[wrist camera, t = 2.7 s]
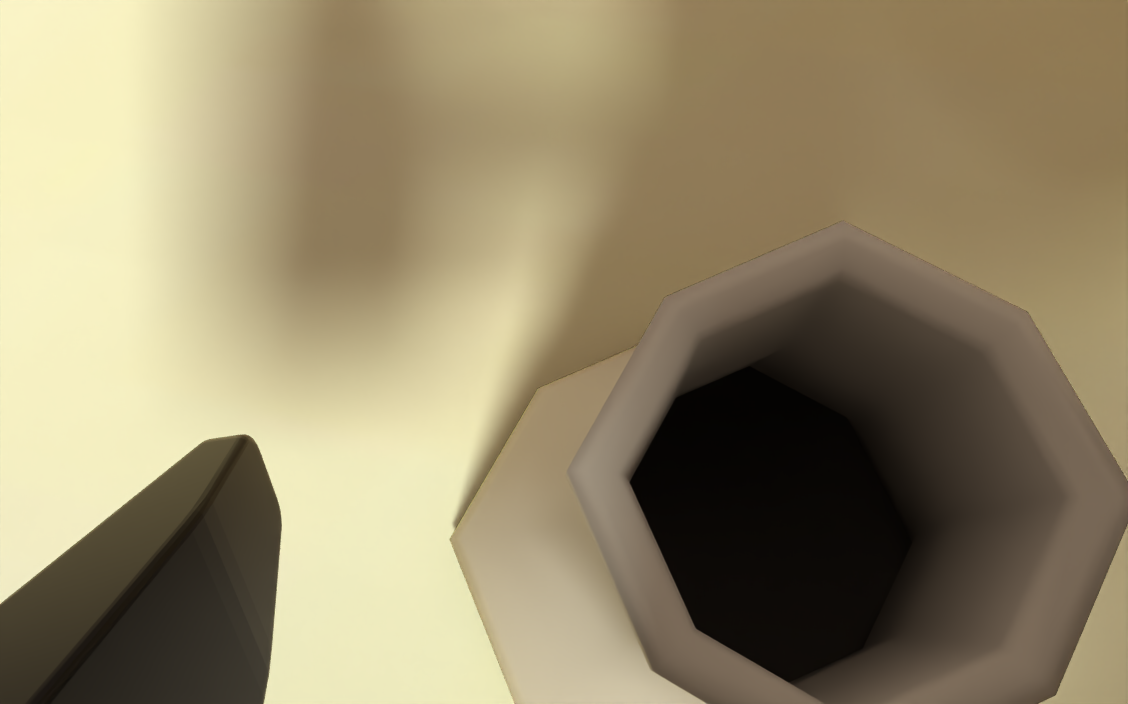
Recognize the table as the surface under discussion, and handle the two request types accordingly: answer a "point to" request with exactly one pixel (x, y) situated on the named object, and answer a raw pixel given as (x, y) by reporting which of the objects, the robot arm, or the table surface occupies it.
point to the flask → (801, 499)
